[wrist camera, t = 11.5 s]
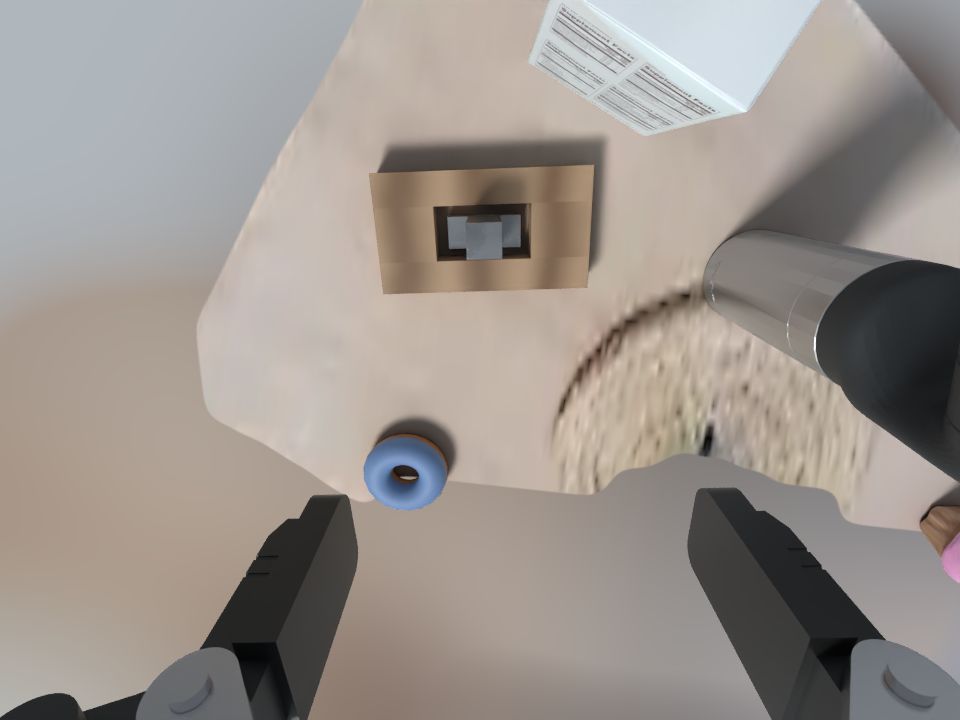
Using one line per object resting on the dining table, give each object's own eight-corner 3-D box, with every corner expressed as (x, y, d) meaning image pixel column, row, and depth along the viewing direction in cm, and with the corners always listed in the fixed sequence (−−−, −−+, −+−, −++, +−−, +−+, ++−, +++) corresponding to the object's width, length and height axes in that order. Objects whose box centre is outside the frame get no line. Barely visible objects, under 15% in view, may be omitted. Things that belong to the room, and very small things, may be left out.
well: (587, 165, 42) (594, 164, 40) (581, 280, 47) (587, 287, 44) (376, 173, 43) (369, 173, 40) (389, 287, 47) (383, 294, 44)
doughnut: (375, 419, 53) (367, 444, 49) (457, 437, 54) (456, 463, 50) (362, 480, 58) (353, 508, 54) (438, 495, 59) (435, 523, 55)
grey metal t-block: (519, 213, 44) (526, 221, 37) (519, 244, 45) (526, 258, 38) (448, 215, 44) (440, 223, 37) (450, 246, 46) (443, 260, 38)
